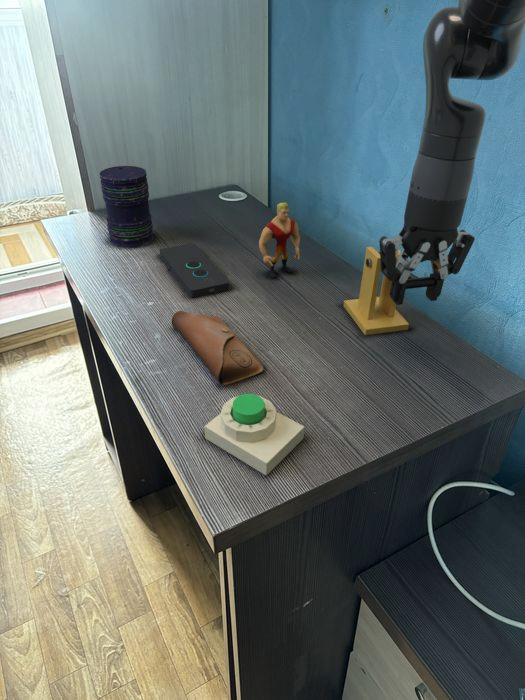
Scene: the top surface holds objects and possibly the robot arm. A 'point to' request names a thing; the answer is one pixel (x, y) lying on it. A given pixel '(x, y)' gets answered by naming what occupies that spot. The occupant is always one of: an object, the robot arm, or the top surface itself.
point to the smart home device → (194, 270)
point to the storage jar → (127, 206)
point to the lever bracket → (375, 300)
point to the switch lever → (419, 281)
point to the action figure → (280, 238)
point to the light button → (248, 409)
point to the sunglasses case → (217, 347)
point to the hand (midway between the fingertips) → (414, 299)
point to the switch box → (255, 437)
